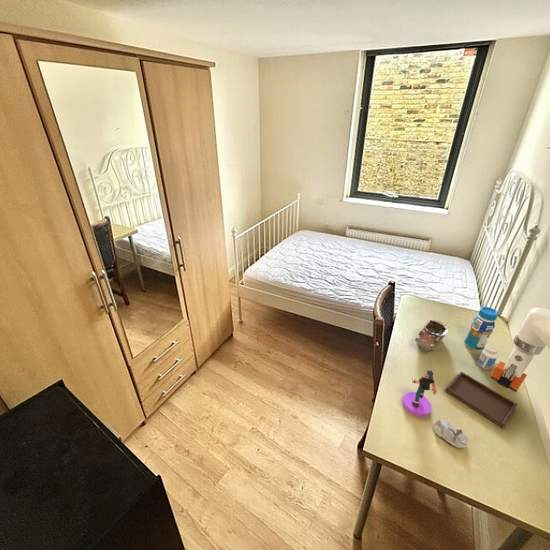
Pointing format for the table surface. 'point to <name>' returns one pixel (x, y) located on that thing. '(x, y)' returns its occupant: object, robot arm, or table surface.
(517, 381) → the orange rectangular block
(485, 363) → the pill bottle
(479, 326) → the blue lidded jar
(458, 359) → the table surface
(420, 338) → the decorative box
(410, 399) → the figurine
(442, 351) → the table surface
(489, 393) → the tray
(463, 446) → the stone
